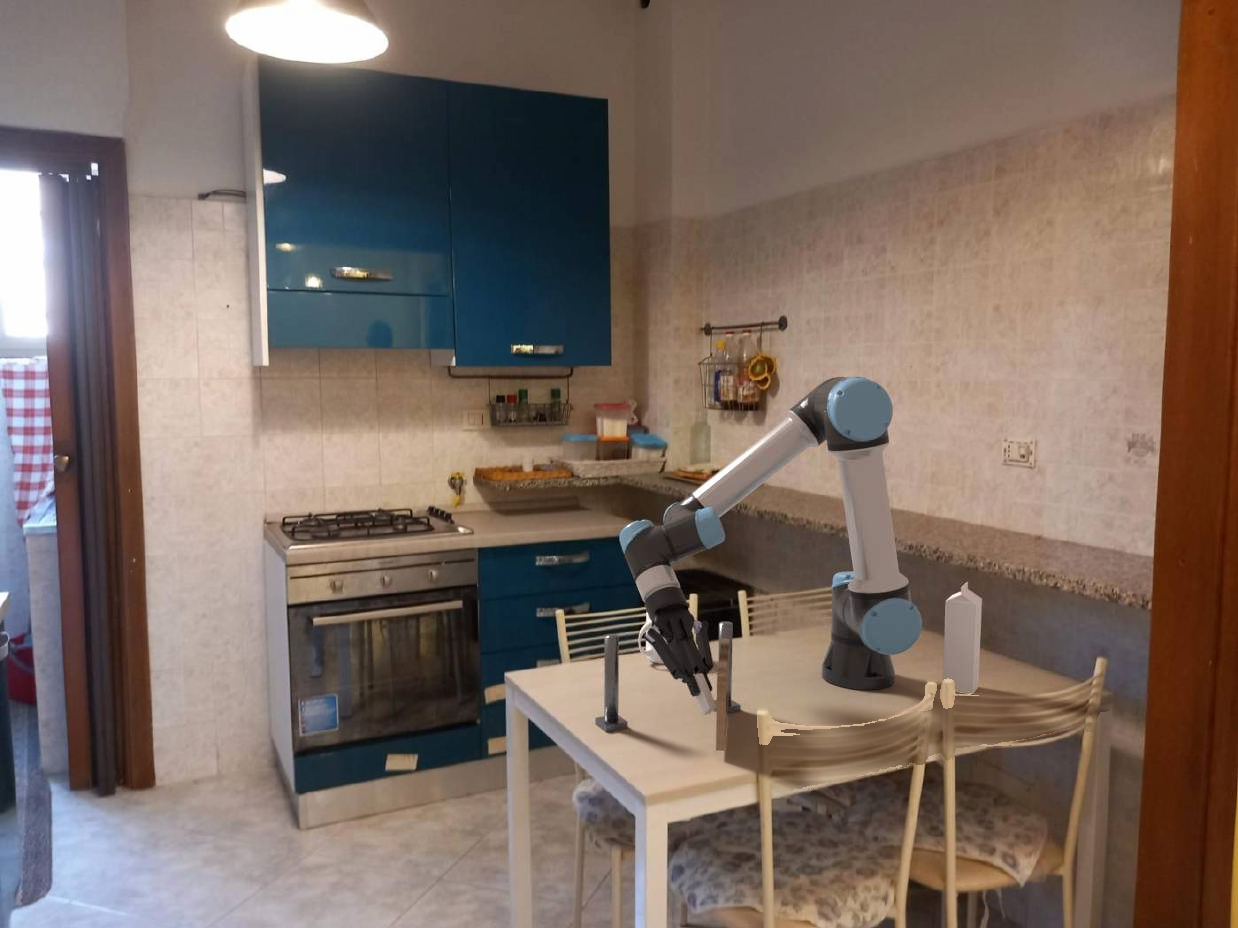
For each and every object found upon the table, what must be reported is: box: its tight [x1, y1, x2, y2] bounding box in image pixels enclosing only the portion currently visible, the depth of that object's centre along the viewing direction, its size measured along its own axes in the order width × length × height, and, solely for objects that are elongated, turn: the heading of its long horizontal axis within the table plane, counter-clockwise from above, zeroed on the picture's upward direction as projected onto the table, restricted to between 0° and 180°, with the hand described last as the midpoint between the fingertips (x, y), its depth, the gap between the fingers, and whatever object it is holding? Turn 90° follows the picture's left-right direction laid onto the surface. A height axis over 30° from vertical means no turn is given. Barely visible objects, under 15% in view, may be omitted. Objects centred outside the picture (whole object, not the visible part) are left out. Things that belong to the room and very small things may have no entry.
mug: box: [638, 612, 671, 665], centre depth 211 cm, size 9×12×11 cm
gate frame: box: [594, 621, 742, 733], centre depth 176 cm, size 28×7×17 cm, turn 118°
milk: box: [942, 581, 983, 694], centre depth 192 cm, size 6×6×22 cm
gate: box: [715, 638, 729, 752], centre depth 168 cm, size 22×2×13 cm, turn 172°
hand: (709, 710), depth 162 cm, fingers closed
